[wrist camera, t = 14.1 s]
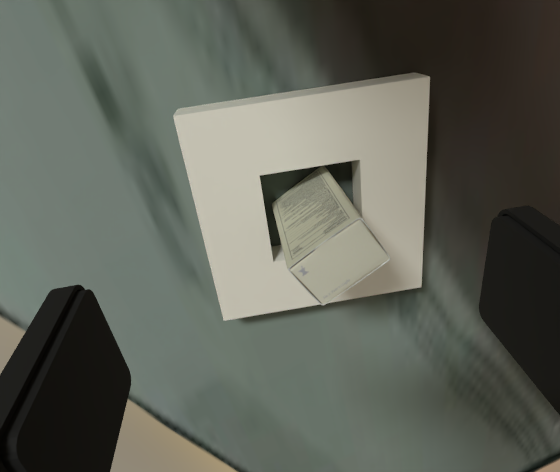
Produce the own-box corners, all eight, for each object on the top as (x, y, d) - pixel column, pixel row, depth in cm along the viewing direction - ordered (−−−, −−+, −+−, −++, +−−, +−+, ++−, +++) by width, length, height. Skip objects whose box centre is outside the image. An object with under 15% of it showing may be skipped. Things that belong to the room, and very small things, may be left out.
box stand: (177, 108, 34) (173, 116, 31) (414, 72, 34) (430, 76, 32) (224, 302, 43) (223, 320, 41) (409, 271, 44) (421, 287, 41)
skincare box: (296, 233, 40) (320, 310, 30) (269, 201, 38) (283, 271, 28) (349, 195, 39) (394, 261, 28) (323, 160, 37) (361, 216, 26)
